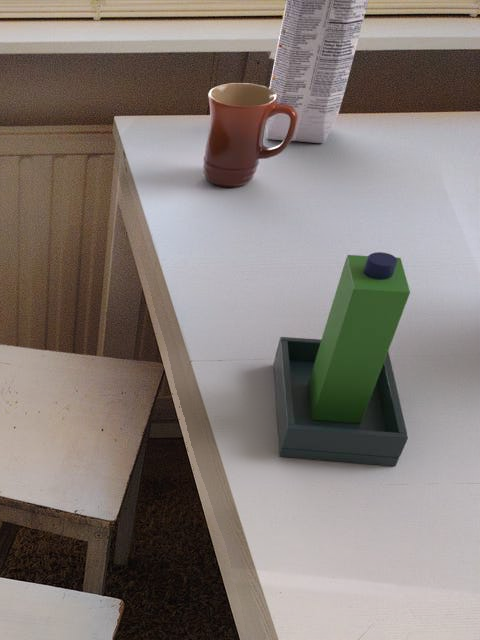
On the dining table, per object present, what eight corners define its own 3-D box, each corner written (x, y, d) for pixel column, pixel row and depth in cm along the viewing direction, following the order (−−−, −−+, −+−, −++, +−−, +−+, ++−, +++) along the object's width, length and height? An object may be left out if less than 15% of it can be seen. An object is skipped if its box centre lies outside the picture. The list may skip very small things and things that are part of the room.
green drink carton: (307, 383, 82) (351, 240, 71) (354, 387, 81) (405, 243, 70) (311, 420, 78) (358, 274, 67) (360, 423, 78) (416, 278, 66)
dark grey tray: (272, 364, 86) (280, 336, 83) (376, 371, 85) (386, 343, 82) (279, 456, 76) (287, 428, 74) (395, 466, 75) (408, 437, 73)
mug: (188, 186, 114) (200, 101, 106) (205, 162, 118) (218, 79, 111) (275, 199, 110) (294, 113, 102) (289, 174, 115) (308, 90, 107)
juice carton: (331, 147, 120) (395, -96, 99) (258, 142, 122) (305, -98, 102) (332, 125, 126) (393, -111, 105) (263, 120, 128) (309, -113, 107)
